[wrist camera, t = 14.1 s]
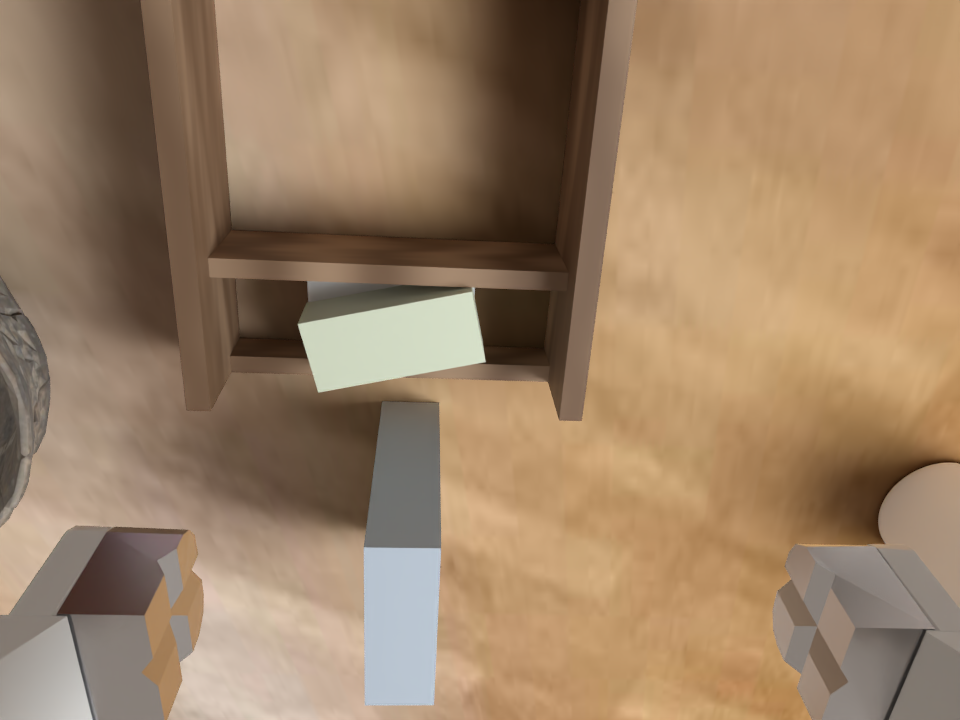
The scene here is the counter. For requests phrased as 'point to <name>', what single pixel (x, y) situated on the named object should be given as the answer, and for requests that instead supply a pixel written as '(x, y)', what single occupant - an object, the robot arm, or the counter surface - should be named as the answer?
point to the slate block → (403, 557)
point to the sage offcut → (390, 334)
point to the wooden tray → (374, 259)
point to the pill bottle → (928, 520)
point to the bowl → (19, 400)
